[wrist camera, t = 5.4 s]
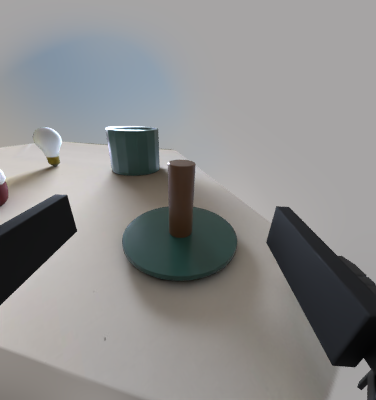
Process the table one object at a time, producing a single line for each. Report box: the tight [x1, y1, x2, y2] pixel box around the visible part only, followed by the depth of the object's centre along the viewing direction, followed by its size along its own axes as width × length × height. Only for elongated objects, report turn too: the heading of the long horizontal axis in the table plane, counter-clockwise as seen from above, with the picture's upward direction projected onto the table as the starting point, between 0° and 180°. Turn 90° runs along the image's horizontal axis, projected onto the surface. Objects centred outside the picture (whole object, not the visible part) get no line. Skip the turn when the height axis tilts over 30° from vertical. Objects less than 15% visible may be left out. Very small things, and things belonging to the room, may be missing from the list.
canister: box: [106, 126, 159, 175], centre depth 48 cm, size 13×13×10 cm
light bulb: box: [33, 127, 62, 166], centre depth 48 cm, size 6×6×10 cm
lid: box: [122, 160, 237, 281], centre depth 21 cm, size 14×14×10 cm
